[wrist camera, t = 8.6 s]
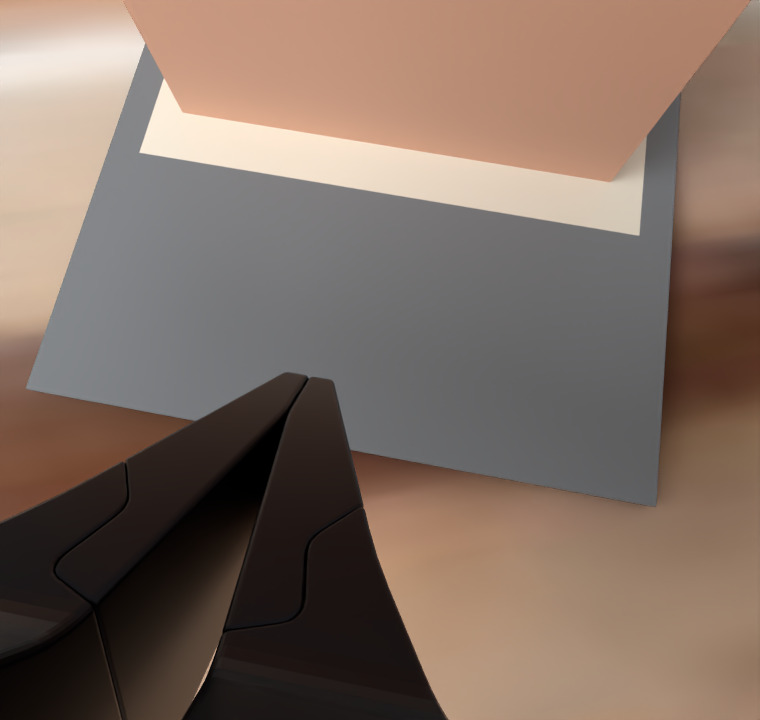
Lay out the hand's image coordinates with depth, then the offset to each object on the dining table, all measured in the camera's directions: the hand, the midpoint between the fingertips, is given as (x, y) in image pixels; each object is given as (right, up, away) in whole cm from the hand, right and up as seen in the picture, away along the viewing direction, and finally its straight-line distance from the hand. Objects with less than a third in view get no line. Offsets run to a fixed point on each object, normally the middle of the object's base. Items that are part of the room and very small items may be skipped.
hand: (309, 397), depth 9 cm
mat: (+2, +9, +8) cm, 13 cm away
